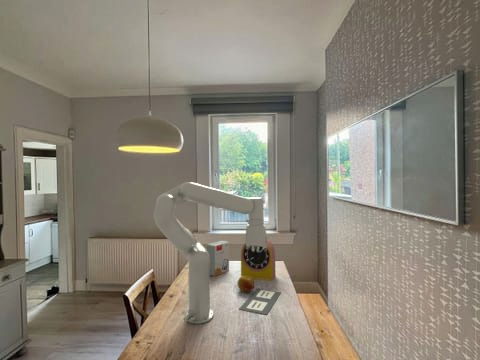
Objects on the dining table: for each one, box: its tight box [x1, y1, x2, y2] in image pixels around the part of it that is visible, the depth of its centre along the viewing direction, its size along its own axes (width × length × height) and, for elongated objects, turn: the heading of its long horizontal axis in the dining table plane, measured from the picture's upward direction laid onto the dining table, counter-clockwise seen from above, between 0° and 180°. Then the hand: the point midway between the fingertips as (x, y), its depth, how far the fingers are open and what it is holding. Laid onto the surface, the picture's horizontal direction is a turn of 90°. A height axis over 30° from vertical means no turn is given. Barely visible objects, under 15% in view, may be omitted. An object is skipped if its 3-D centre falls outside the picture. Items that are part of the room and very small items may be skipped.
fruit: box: [237, 275, 255, 293], centre depth 146 cm, size 10×9×8 cm
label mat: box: [238, 288, 282, 316], centre depth 134 cm, size 26×14×1 cm, turn 157°
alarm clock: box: [240, 238, 277, 281], centre depth 168 cm, size 21×9×26 cm, turn 67°
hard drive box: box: [206, 240, 230, 277], centre depth 177 cm, size 16×8×20 cm, turn 143°
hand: (256, 259), depth 128 cm, fingers closed
